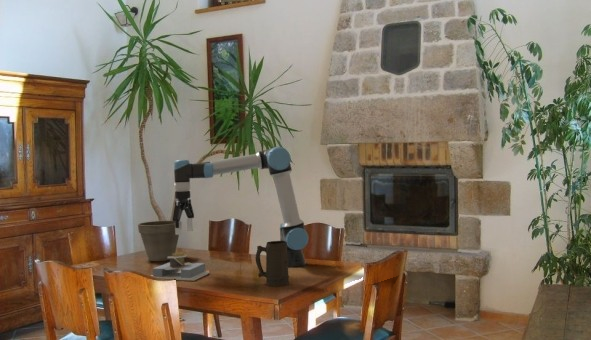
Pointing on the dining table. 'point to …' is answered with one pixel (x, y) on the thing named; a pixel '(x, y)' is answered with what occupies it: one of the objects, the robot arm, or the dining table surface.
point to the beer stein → (274, 263)
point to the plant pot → (159, 239)
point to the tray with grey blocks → (181, 272)
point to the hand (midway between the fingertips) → (184, 232)
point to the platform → (177, 261)
